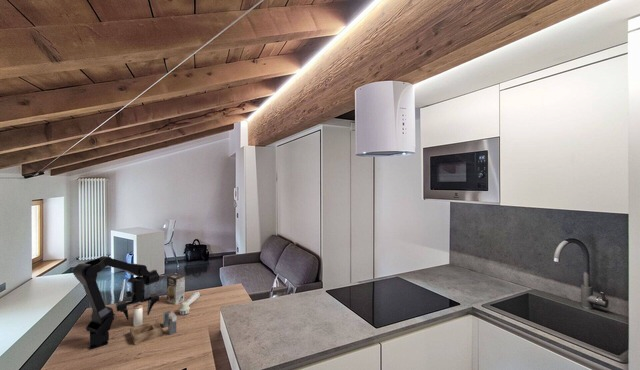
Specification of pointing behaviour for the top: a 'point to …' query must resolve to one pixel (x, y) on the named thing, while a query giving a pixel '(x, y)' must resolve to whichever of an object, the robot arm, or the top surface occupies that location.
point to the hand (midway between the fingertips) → (138, 317)
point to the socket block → (146, 332)
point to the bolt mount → (169, 323)
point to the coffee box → (175, 288)
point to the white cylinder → (138, 315)
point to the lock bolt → (172, 317)
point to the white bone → (188, 303)
